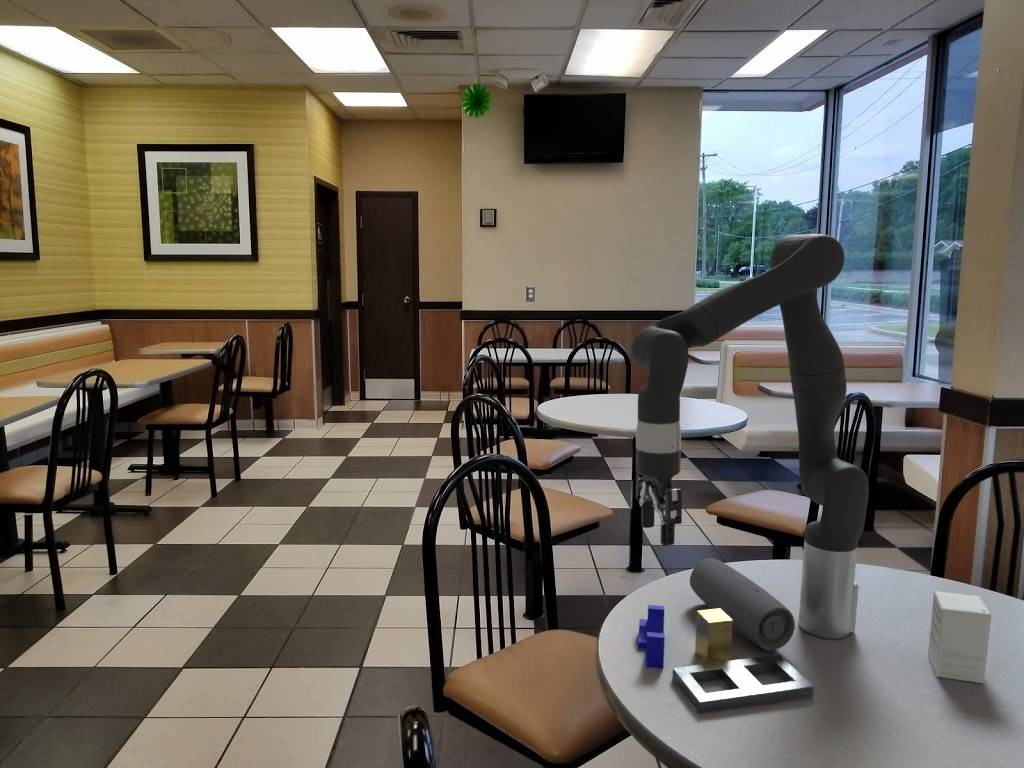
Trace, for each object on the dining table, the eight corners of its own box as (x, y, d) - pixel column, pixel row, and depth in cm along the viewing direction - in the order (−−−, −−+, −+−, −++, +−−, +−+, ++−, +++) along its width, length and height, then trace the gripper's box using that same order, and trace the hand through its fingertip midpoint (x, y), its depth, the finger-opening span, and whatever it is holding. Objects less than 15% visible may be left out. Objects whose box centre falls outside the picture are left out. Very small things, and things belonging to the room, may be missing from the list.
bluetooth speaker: (796, 652, 136) (800, 601, 134) (751, 660, 133) (755, 608, 131) (725, 598, 157) (728, 552, 155) (686, 604, 154) (688, 558, 153)
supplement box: (973, 662, 133) (981, 595, 130) (984, 685, 126) (992, 614, 123) (926, 655, 135) (933, 589, 133) (934, 677, 128) (942, 607, 126)
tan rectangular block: (717, 649, 137) (720, 608, 136) (730, 662, 133) (732, 619, 131) (695, 651, 136) (697, 610, 135) (706, 665, 132) (708, 622, 130)
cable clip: (639, 633, 143) (640, 604, 142) (663, 635, 142) (664, 606, 141) (637, 667, 131) (638, 635, 130) (663, 669, 130) (664, 637, 129)
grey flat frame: (778, 664, 132) (779, 654, 131) (812, 697, 122) (813, 686, 122) (672, 678, 127) (672, 668, 127) (699, 713, 118) (700, 702, 117)
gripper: (697, 454, 122) (695, 548, 125) (661, 434, 136) (660, 519, 139) (654, 458, 120) (653, 553, 123) (622, 437, 134) (622, 523, 137)
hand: (657, 535), depth 131 cm, fingers open, 8 cm apart
